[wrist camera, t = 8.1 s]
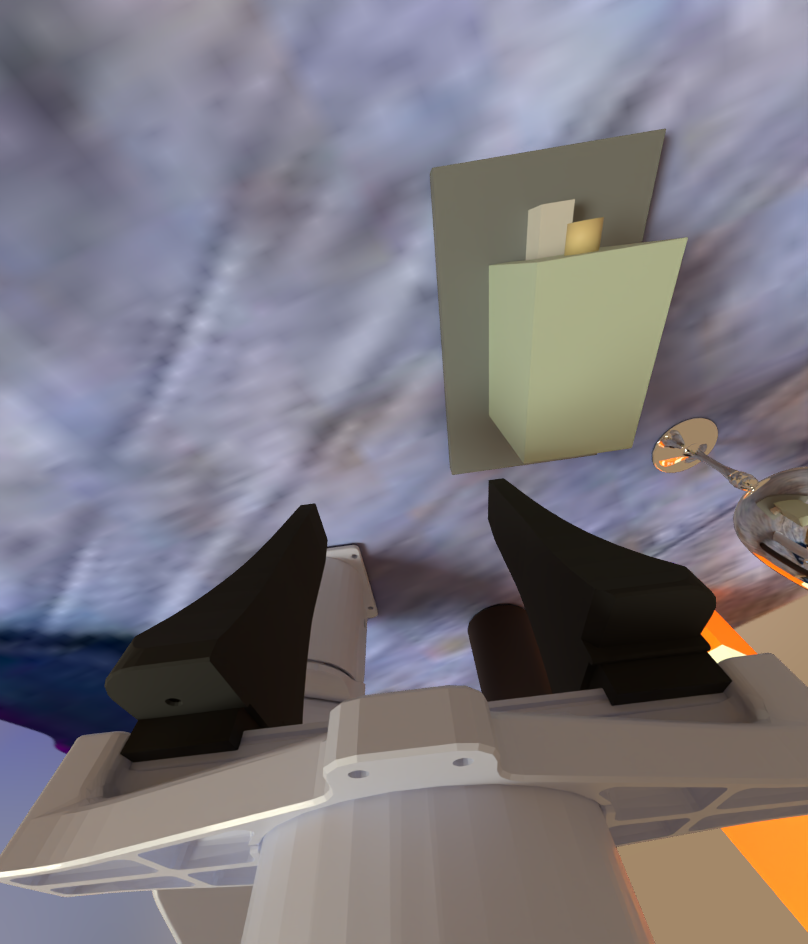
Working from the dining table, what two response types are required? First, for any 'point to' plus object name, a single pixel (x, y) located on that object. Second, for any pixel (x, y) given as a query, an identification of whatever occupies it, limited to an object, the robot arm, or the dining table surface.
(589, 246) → the cabinet block
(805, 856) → the orange juice
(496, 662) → the bottle
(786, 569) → the wineglass
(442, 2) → the dining table surface
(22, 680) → the dining table surface
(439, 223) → the cleat board
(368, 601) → the robot arm
